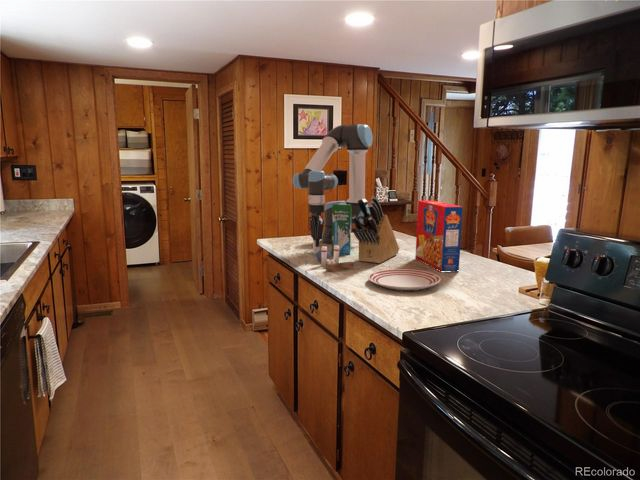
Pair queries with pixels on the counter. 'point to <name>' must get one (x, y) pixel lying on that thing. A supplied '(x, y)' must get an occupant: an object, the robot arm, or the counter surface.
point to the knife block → (374, 234)
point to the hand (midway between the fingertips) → (316, 252)
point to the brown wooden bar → (339, 266)
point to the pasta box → (439, 234)
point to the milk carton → (341, 228)
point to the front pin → (329, 261)
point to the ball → (320, 255)
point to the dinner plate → (404, 279)
